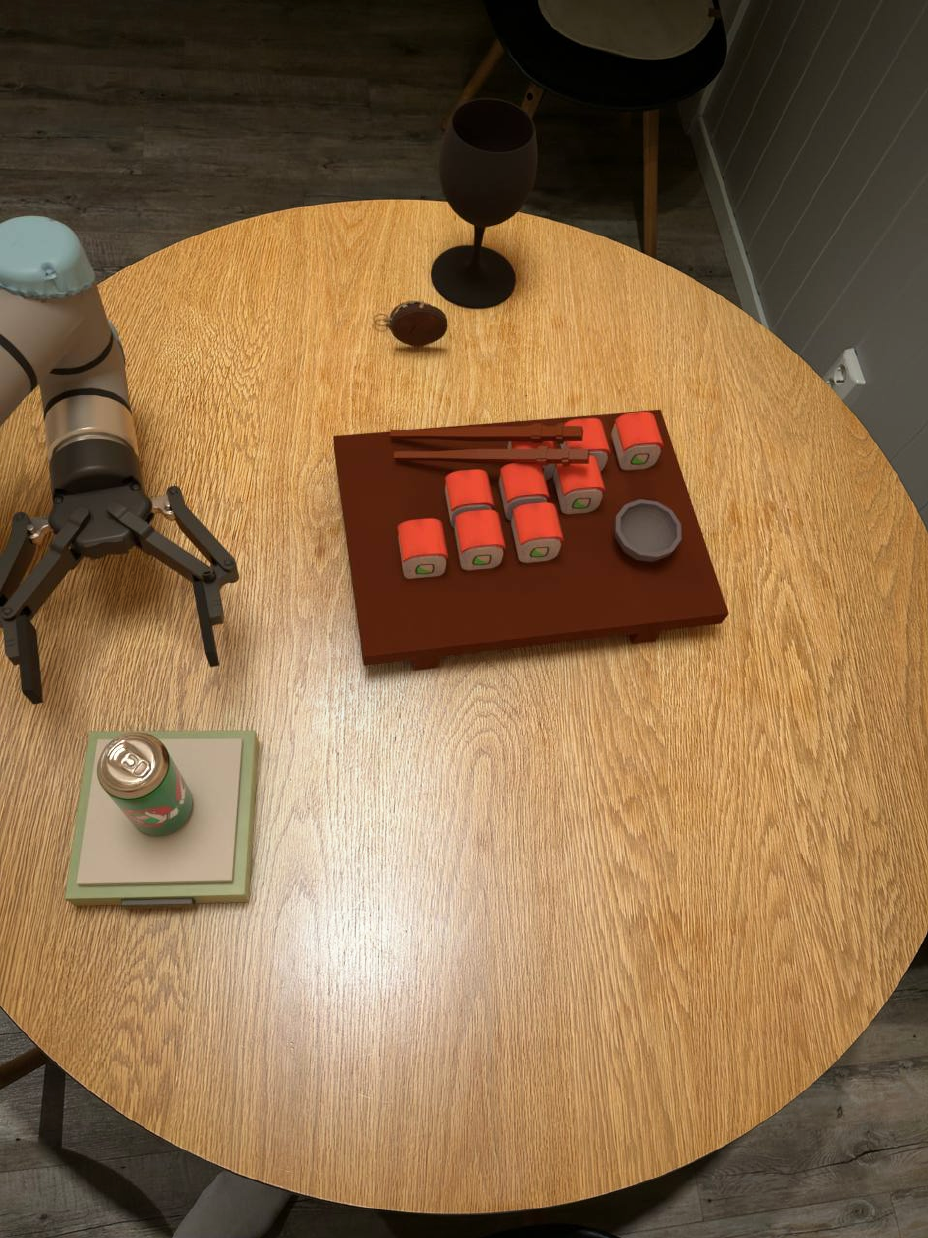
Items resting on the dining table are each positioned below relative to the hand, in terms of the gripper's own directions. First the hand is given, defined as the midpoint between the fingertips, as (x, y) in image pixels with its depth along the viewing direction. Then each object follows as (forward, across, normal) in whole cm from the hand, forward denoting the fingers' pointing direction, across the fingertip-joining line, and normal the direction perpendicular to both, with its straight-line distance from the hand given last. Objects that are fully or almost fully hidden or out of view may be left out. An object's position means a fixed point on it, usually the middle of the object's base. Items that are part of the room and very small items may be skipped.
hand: (124, 678), depth 73 cm
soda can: (+8, 0, -8) cm, 12 cm away
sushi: (-11, -38, -12) cm, 41 cm away
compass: (-42, -34, -12) cm, 56 cm away
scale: (+8, 0, -12) cm, 15 cm away
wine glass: (-49, -44, -12) cm, 67 cm away
